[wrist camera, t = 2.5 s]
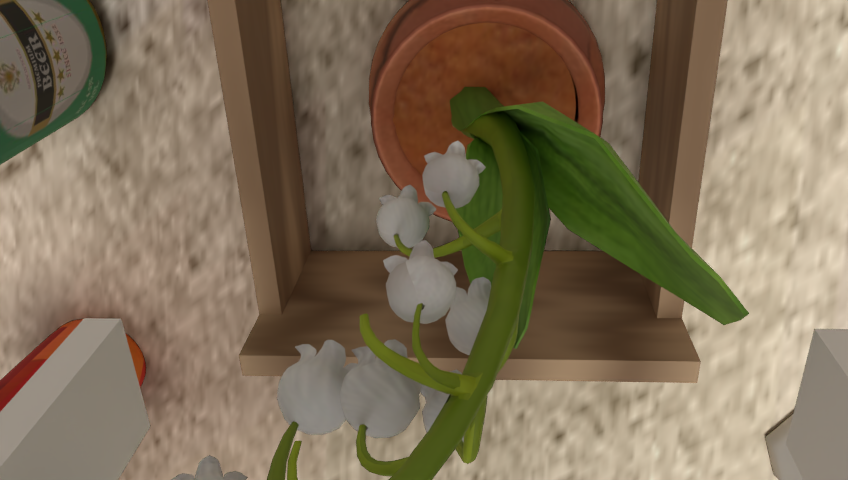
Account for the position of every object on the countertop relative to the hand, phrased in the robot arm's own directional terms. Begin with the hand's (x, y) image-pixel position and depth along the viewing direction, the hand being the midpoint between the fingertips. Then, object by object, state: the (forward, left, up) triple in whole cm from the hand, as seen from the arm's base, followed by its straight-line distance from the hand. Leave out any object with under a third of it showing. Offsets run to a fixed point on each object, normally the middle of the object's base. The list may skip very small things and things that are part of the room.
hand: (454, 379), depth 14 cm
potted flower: (0, 0, -21) cm, 21 cm away
